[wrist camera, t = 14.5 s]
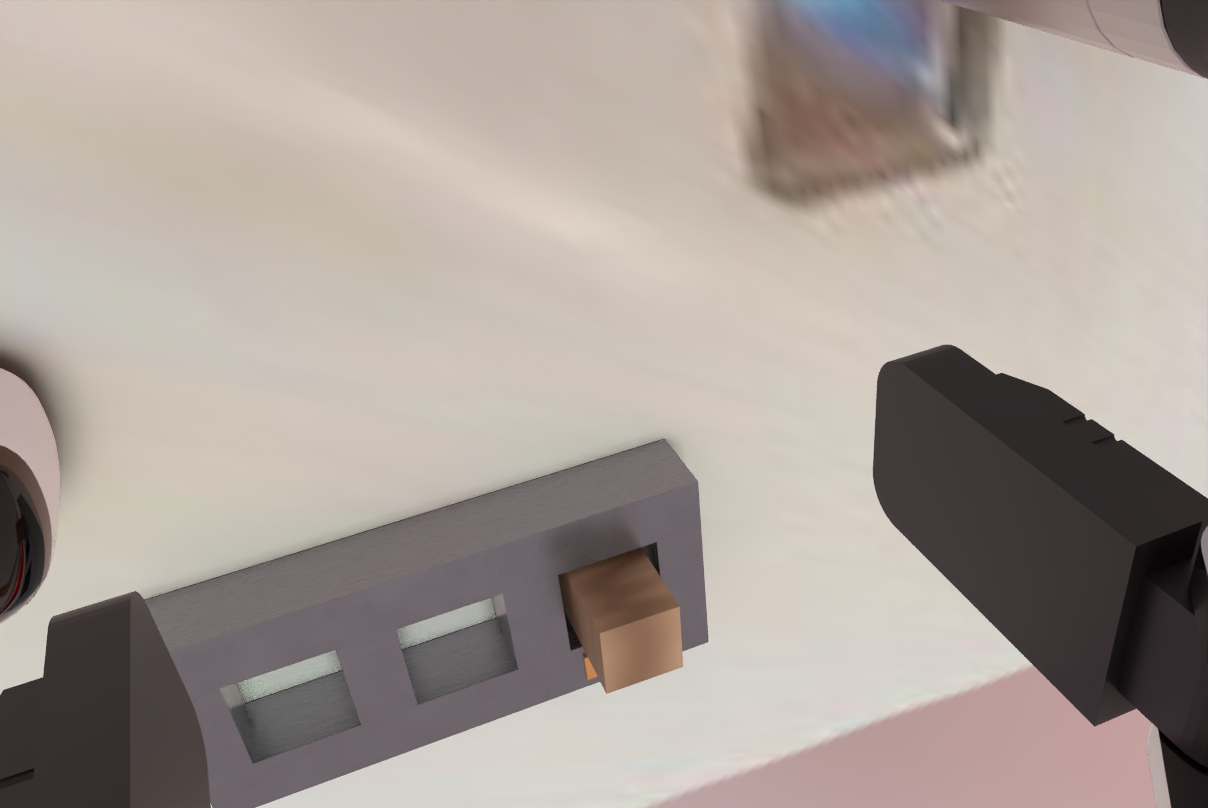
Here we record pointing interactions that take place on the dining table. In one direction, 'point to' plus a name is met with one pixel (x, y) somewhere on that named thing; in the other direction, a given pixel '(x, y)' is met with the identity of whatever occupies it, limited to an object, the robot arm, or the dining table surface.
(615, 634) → the walnut peg
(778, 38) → the dining table surface
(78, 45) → the dining table surface
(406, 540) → the grey socket board
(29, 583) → the spread jar
